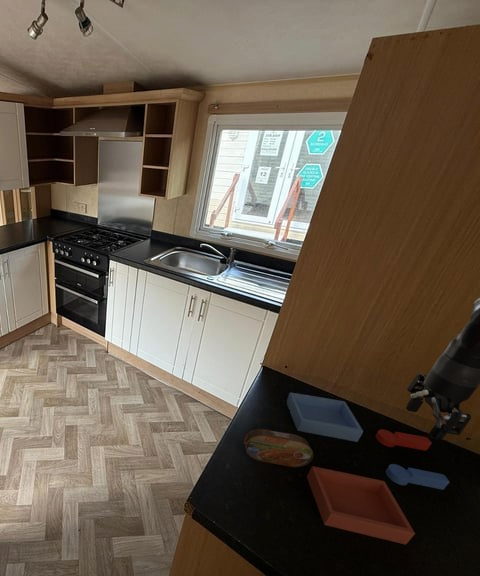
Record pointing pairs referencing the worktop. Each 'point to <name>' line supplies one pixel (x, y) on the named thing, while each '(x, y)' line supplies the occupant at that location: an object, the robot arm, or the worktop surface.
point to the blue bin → (323, 417)
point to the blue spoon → (416, 477)
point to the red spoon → (402, 440)
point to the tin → (278, 448)
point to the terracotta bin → (358, 505)
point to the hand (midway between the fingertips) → (421, 423)
